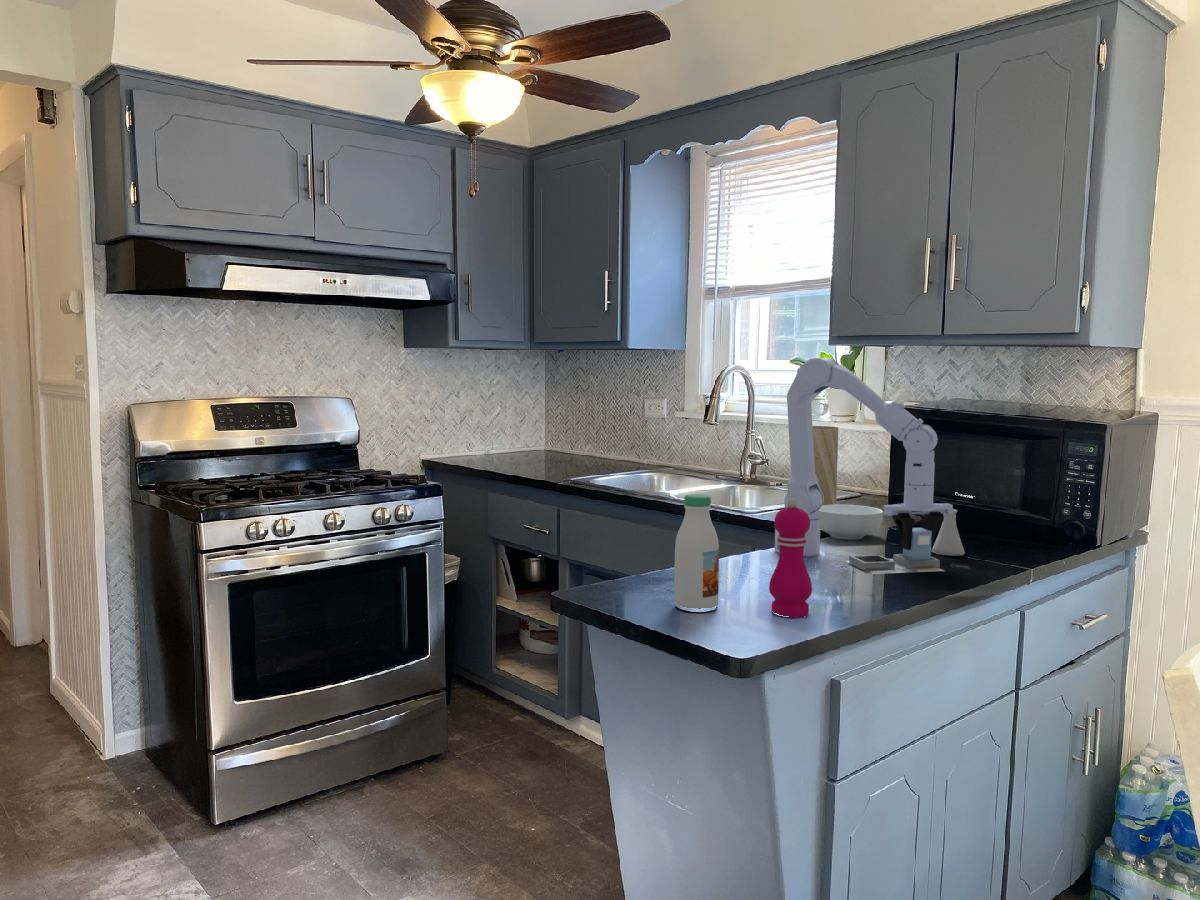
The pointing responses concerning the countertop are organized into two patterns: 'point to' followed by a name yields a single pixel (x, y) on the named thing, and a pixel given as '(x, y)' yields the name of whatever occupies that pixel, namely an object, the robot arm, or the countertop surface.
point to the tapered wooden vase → (826, 461)
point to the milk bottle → (696, 556)
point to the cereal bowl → (850, 520)
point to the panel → (893, 564)
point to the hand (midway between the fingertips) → (916, 548)
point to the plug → (919, 545)
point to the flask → (948, 537)
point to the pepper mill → (791, 563)
